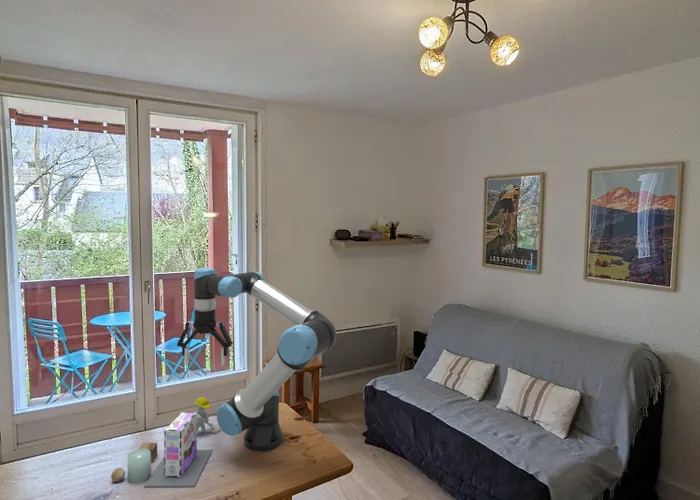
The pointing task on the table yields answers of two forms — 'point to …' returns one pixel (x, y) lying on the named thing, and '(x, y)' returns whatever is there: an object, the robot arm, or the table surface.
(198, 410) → the figurine
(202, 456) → the felt mat
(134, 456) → the pale green rounded cylinder
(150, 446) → the walnut block
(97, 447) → the table surface
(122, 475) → the cork ball
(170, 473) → the candy box
